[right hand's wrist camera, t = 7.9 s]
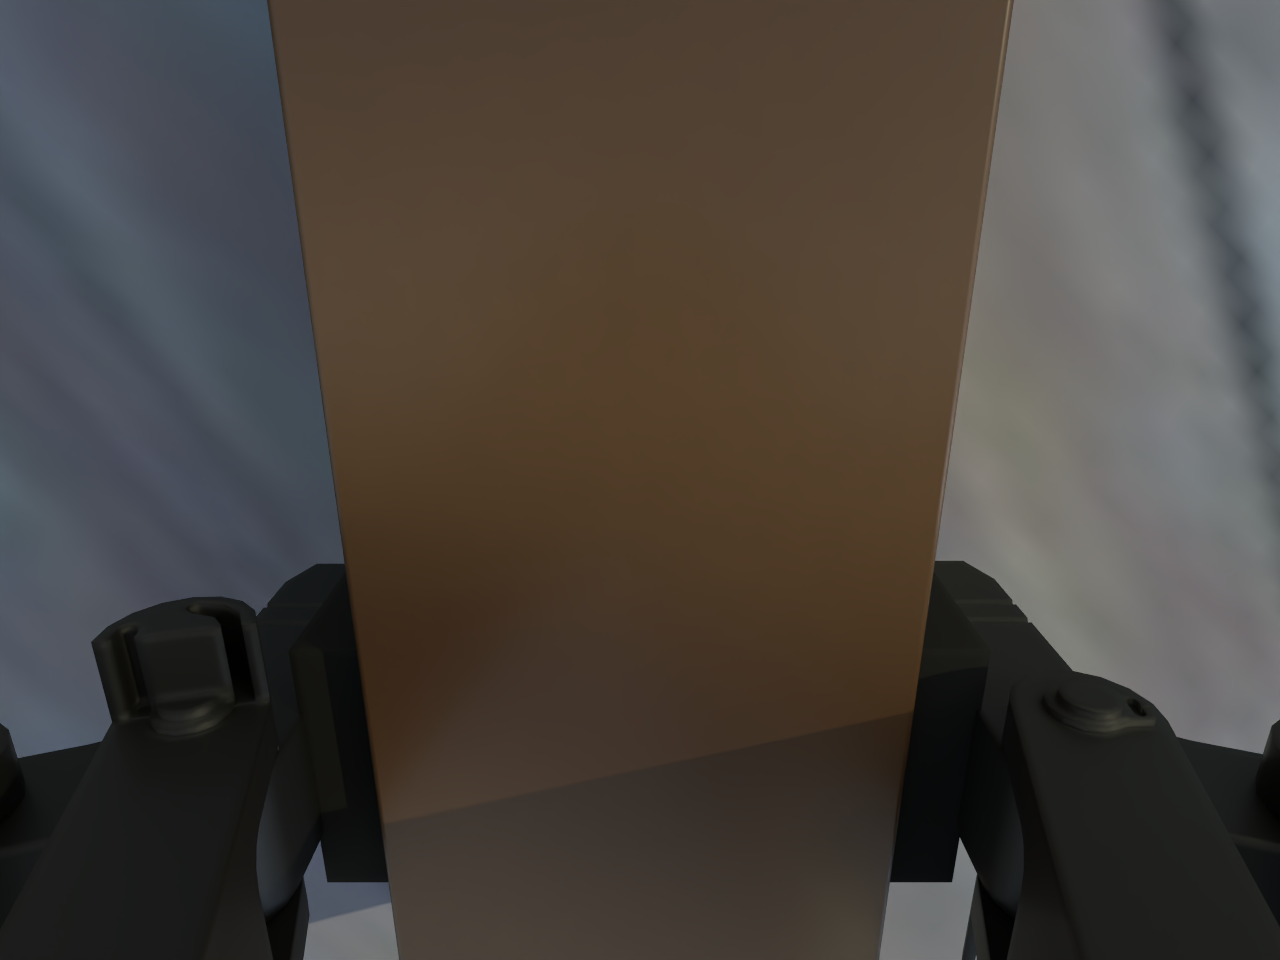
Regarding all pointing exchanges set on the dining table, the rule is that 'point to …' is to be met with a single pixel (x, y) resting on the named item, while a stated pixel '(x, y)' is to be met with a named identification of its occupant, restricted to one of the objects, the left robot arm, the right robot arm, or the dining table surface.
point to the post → (639, 445)
